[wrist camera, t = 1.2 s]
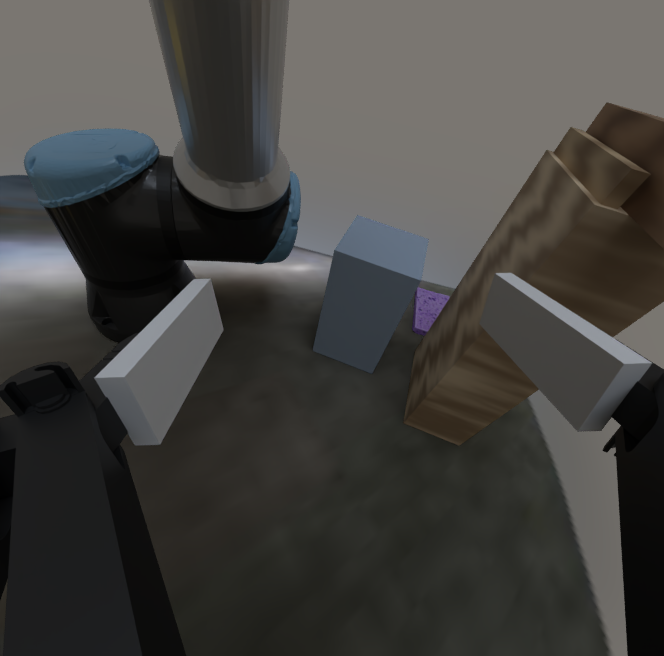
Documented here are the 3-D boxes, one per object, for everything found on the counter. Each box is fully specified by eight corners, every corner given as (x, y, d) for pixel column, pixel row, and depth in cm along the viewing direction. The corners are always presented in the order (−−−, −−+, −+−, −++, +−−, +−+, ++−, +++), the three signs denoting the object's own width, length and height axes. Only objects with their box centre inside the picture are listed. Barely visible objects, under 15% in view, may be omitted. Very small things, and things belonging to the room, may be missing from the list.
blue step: (372, 373, 44) (421, 280, 30) (312, 350, 45) (334, 250, 31) (384, 330, 51) (428, 239, 37) (332, 311, 52) (357, 215, 38)
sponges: (445, 302, 61) (449, 296, 59) (447, 345, 52) (452, 338, 51) (413, 292, 61) (417, 286, 60) (410, 333, 52) (414, 327, 51)
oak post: (459, 445, 39) (785, 215, 15) (403, 423, 39) (626, 168, 15) (459, 368, 48) (657, 151, 24) (414, 351, 49) (563, 124, 25)
